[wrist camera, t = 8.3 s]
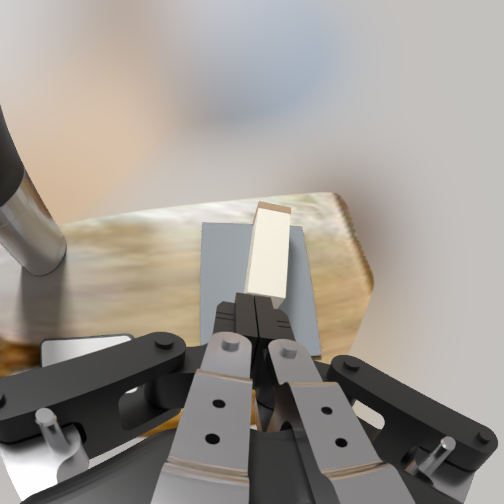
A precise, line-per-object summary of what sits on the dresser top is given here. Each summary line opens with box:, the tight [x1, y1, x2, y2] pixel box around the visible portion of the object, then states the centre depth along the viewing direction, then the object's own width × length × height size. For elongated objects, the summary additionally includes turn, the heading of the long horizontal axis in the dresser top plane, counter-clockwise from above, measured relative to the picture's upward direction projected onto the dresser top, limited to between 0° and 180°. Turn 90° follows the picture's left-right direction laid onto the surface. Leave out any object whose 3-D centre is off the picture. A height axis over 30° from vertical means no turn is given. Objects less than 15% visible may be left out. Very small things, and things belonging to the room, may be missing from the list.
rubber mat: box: [200, 222, 321, 356], centre depth 43 cm, size 17×22×1 cm
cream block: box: [244, 201, 291, 309], centre depth 43 cm, size 5×5×15 cm
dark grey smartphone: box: [40, 334, 143, 396], centre depth 32 cm, size 9×2×16 cm
